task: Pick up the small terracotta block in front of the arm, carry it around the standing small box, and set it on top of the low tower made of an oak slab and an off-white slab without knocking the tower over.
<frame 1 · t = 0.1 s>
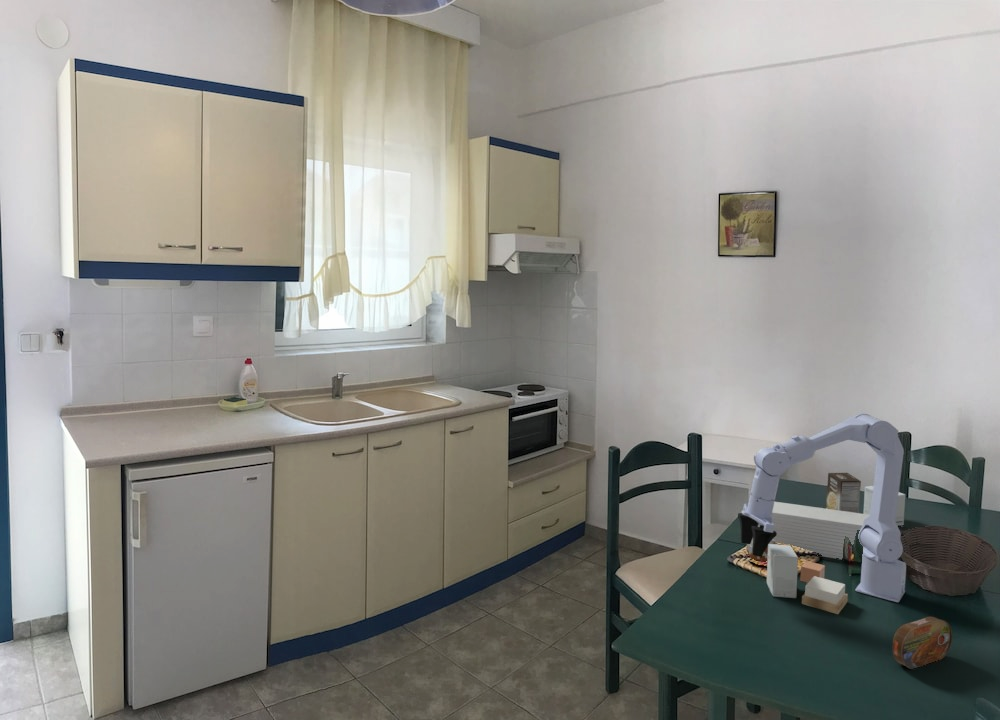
hand: (751, 549, 168), 11 cm above the table, tool pointing down, fingers open, 7 cm apart
off-white slab: (824, 594, 162), point 2 cm above the table, touching oak slab
skincare box: (882, 522, 217), on the table
terracotta block: (812, 580, 175), on the table
coffee box: (841, 526, 213), on the table
tin: (920, 662, 138), on the table
decorative ornament: (761, 562, 186), on the table
small box: (780, 591, 169), on the table
long white box: (818, 550, 195), on the table
oak slab: (824, 605, 163), on the table, touching off-white slab
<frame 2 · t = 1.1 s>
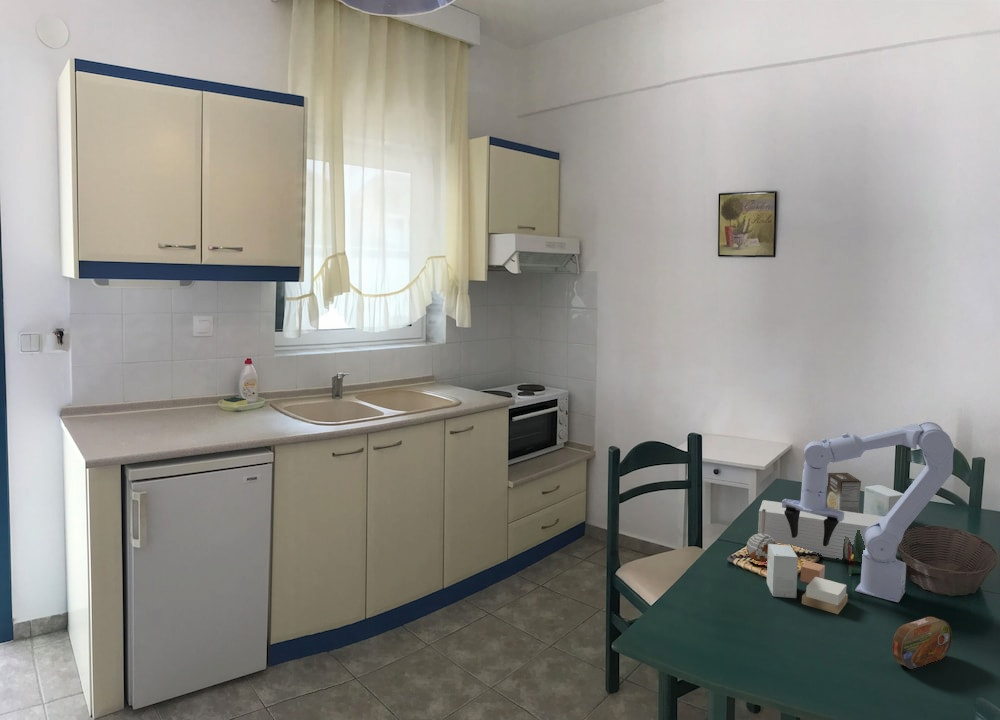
hand: (809, 540, 174), 10 cm above the table, tool pointing down, fingers open, 7 cm apart
nothing on the table moved.
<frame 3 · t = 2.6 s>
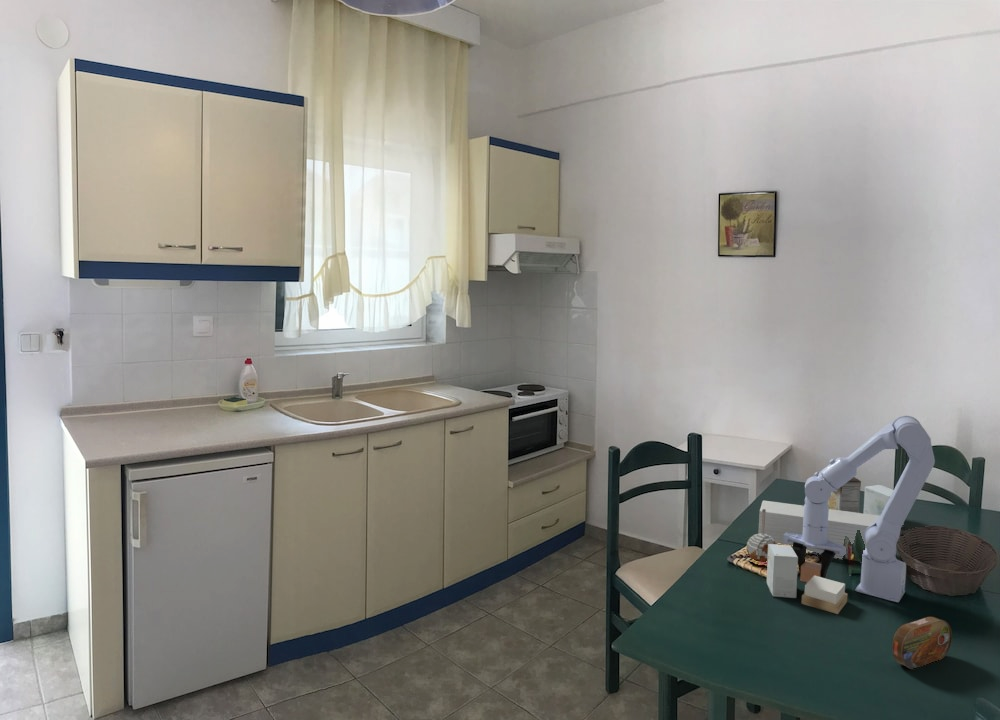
hand: (812, 575, 175), 1 cm above the table, tool pointing down, fingers closed on terracotta block, 4 cm apart
off-white slab: (824, 594, 162), point 2 cm above the table
terracotta block: (812, 580, 175), on the table, touching gripper
oak slab: (824, 604, 163), on the table
everything else where it was.
when the fingers open (7 cm above the table, at t = 6.0 s): terracotta block drops 1 cm, point 4 cm above the table.
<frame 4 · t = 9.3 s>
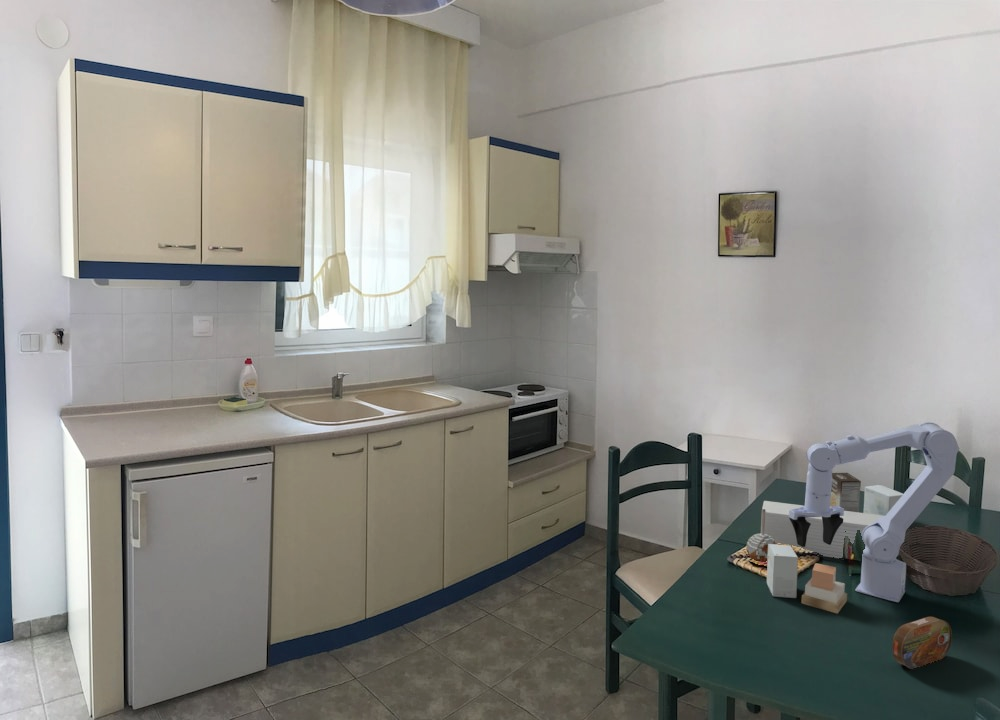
hand: (814, 544, 171), 10 cm above the table, tool pointing down, fingers open, 7 cm apart
off-white slab: (824, 594, 163), point 2 cm above the table, touching oak slab
terracotta block: (823, 584, 162), point 4 cm above the table
oak slab: (823, 604, 163), on the table, touching off-white slab
everything else where it was.
at the end: terracotta block 0.7 cm off-centre on the off-white slab, point 2.6 cm above the off-white slab's base; off-white slab 0.2 cm off-centre on the oak slab, point 2.5 cm above the oak slab's base; oak slab moved 0.7 cm from its start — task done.
